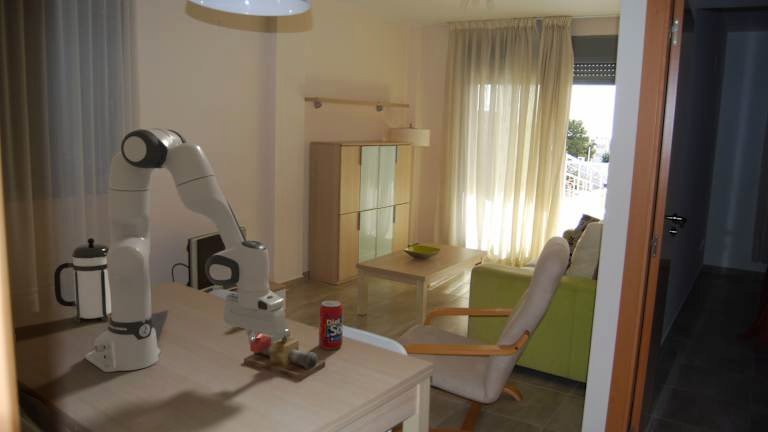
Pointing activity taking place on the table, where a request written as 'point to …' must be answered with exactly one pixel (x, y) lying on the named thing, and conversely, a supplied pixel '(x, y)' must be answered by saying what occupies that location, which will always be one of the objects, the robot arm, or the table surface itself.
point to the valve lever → (267, 341)
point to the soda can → (330, 324)
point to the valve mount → (286, 359)
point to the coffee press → (88, 282)
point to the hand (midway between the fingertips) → (254, 343)
